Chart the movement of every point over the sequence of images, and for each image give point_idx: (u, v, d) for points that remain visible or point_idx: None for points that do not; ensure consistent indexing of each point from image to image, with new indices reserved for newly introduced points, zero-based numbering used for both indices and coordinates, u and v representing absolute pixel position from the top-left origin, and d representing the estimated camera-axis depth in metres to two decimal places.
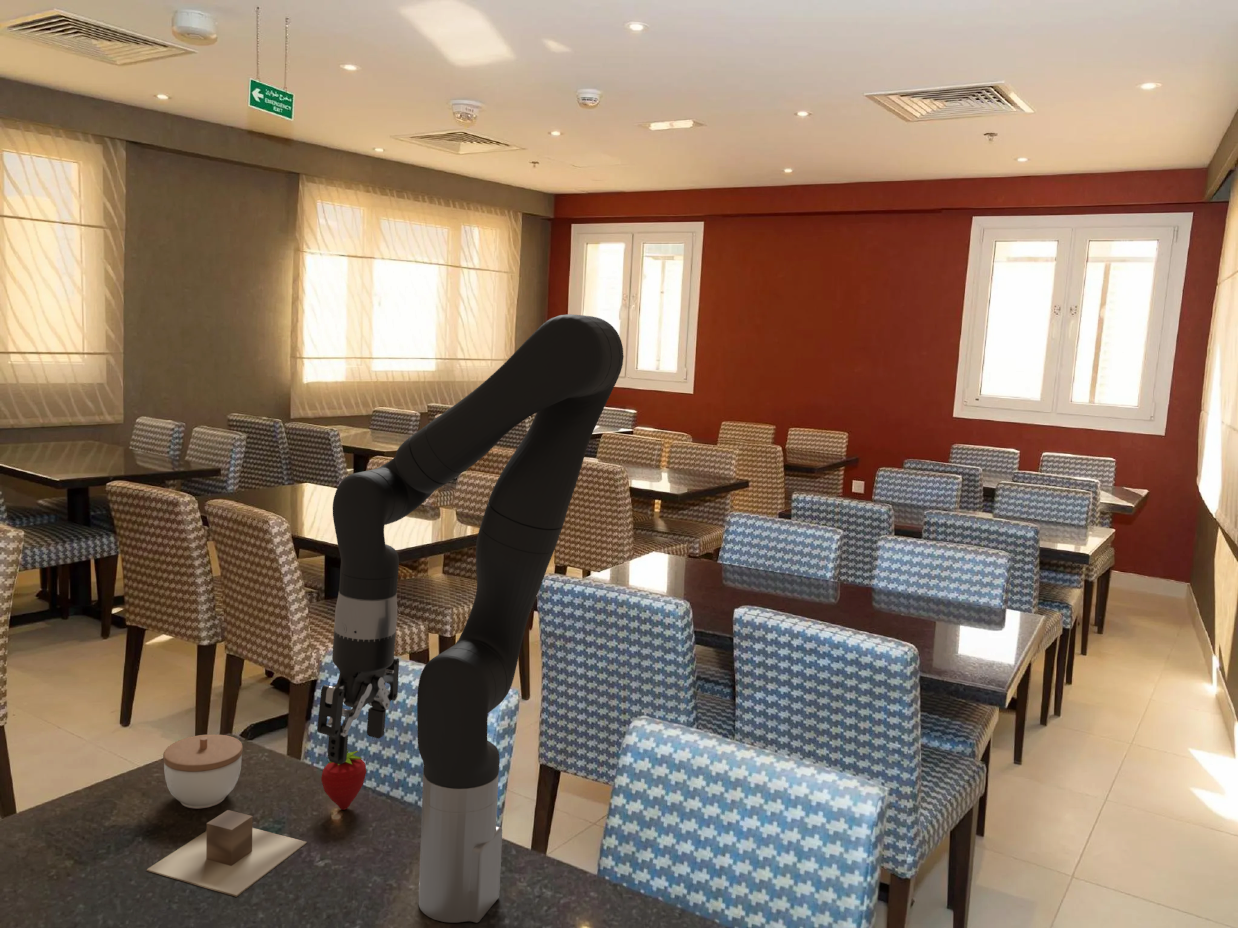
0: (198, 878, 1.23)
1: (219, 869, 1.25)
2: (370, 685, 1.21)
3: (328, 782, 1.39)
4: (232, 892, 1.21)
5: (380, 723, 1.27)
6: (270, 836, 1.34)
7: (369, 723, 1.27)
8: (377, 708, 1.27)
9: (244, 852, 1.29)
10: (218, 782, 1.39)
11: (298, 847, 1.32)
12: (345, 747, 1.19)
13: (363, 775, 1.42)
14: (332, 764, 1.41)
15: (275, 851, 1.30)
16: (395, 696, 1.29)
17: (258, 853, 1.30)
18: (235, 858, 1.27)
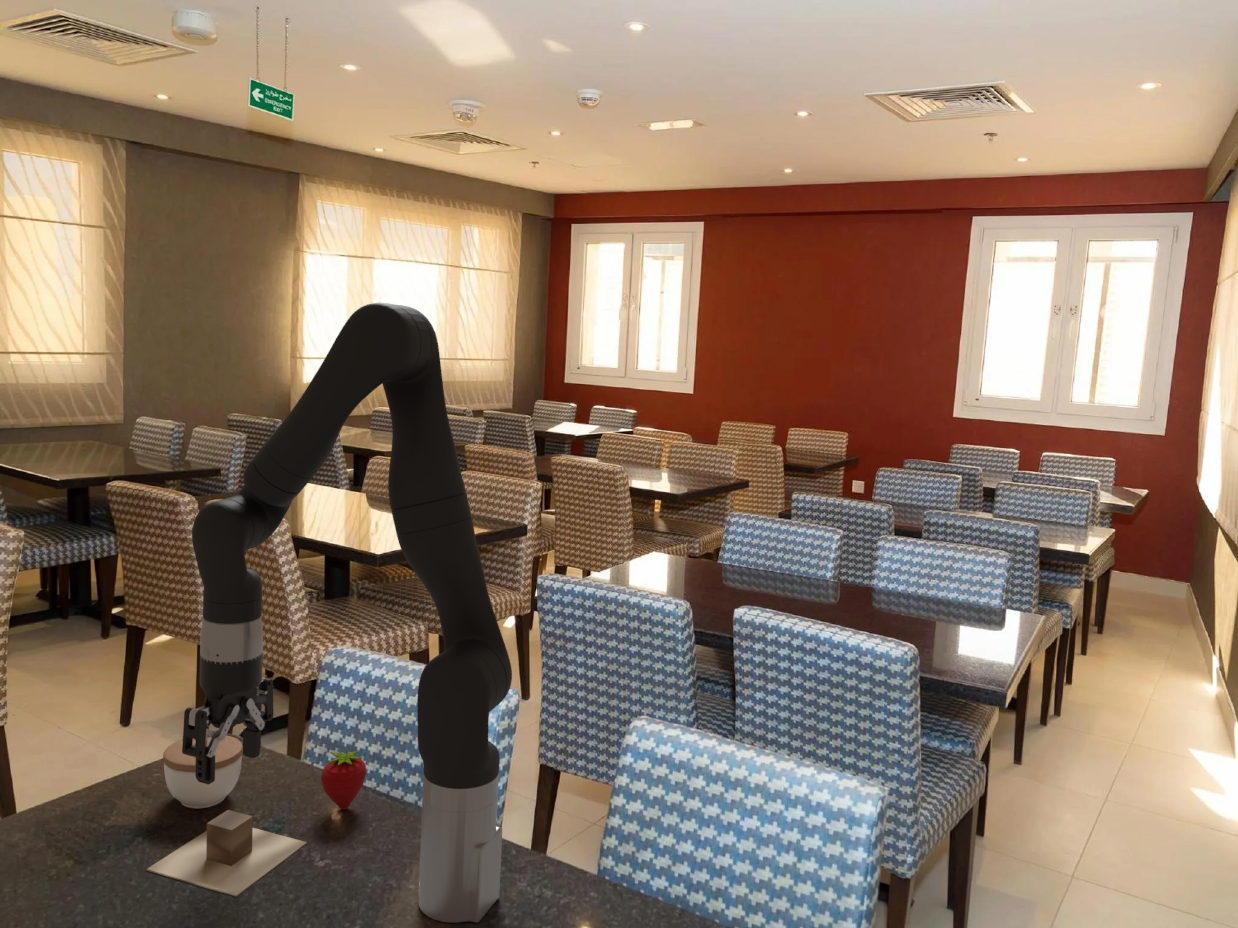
0: (197, 878, 1.23)
1: (219, 869, 1.25)
2: (237, 706, 1.25)
3: (328, 782, 1.39)
4: (232, 892, 1.21)
5: (255, 743, 1.31)
6: (270, 836, 1.34)
7: (244, 744, 1.31)
8: (251, 729, 1.31)
9: (244, 852, 1.29)
10: (218, 781, 1.39)
11: (298, 847, 1.32)
12: (212, 767, 1.23)
13: (363, 775, 1.42)
14: (332, 764, 1.41)
15: (275, 851, 1.30)
16: (270, 716, 1.32)
17: (258, 853, 1.30)
18: (235, 858, 1.27)
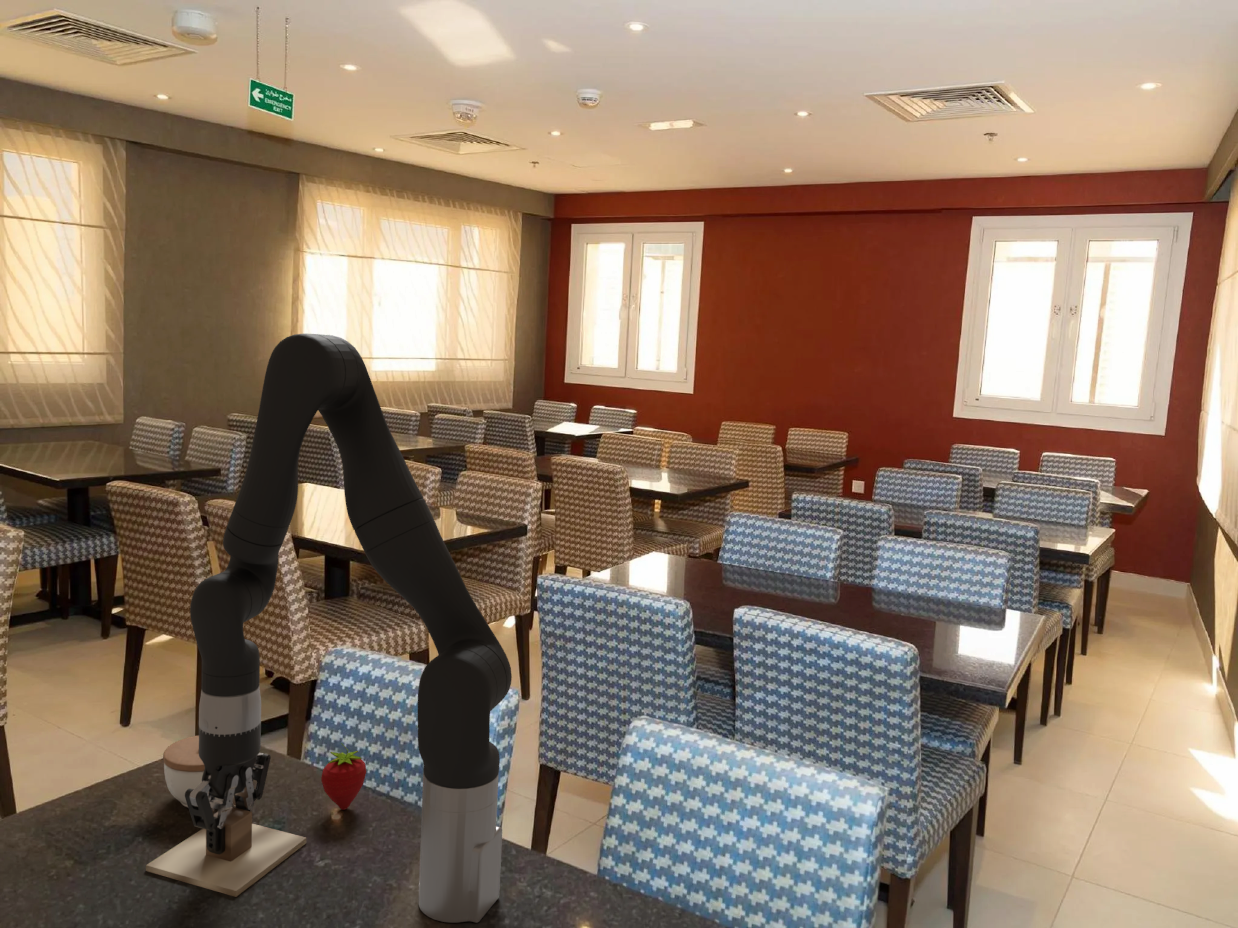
0: (197, 874, 1.23)
1: (219, 865, 1.25)
2: (235, 776, 1.26)
3: (328, 782, 1.39)
4: (232, 888, 1.21)
5: None
6: (270, 832, 1.34)
7: None
8: None
9: (244, 848, 1.29)
10: None
11: (298, 843, 1.32)
12: (223, 838, 1.26)
13: (363, 775, 1.42)
14: (332, 764, 1.41)
15: (275, 847, 1.30)
16: (259, 795, 1.32)
17: (258, 849, 1.30)
18: (235, 854, 1.27)
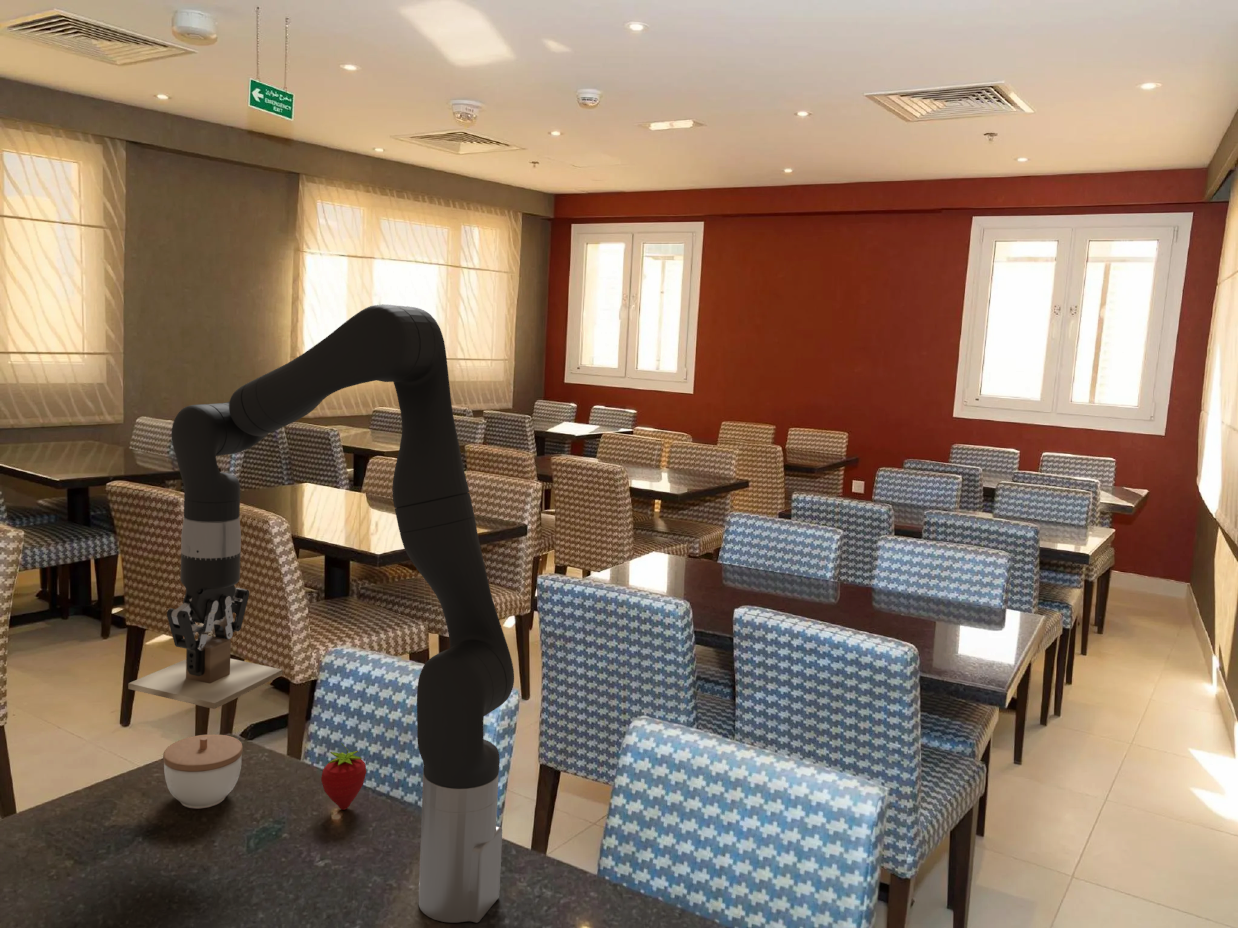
0: (177, 691, 1.29)
1: (198, 685, 1.32)
2: (215, 602, 1.32)
3: (328, 782, 1.39)
4: (210, 701, 1.27)
5: None
6: (247, 664, 1.40)
7: None
8: None
9: (222, 673, 1.35)
10: (218, 782, 1.39)
11: (274, 673, 1.38)
12: (203, 660, 1.32)
13: (363, 775, 1.42)
14: (332, 764, 1.41)
15: (252, 675, 1.37)
16: (238, 627, 1.38)
17: (235, 676, 1.36)
18: (213, 677, 1.33)
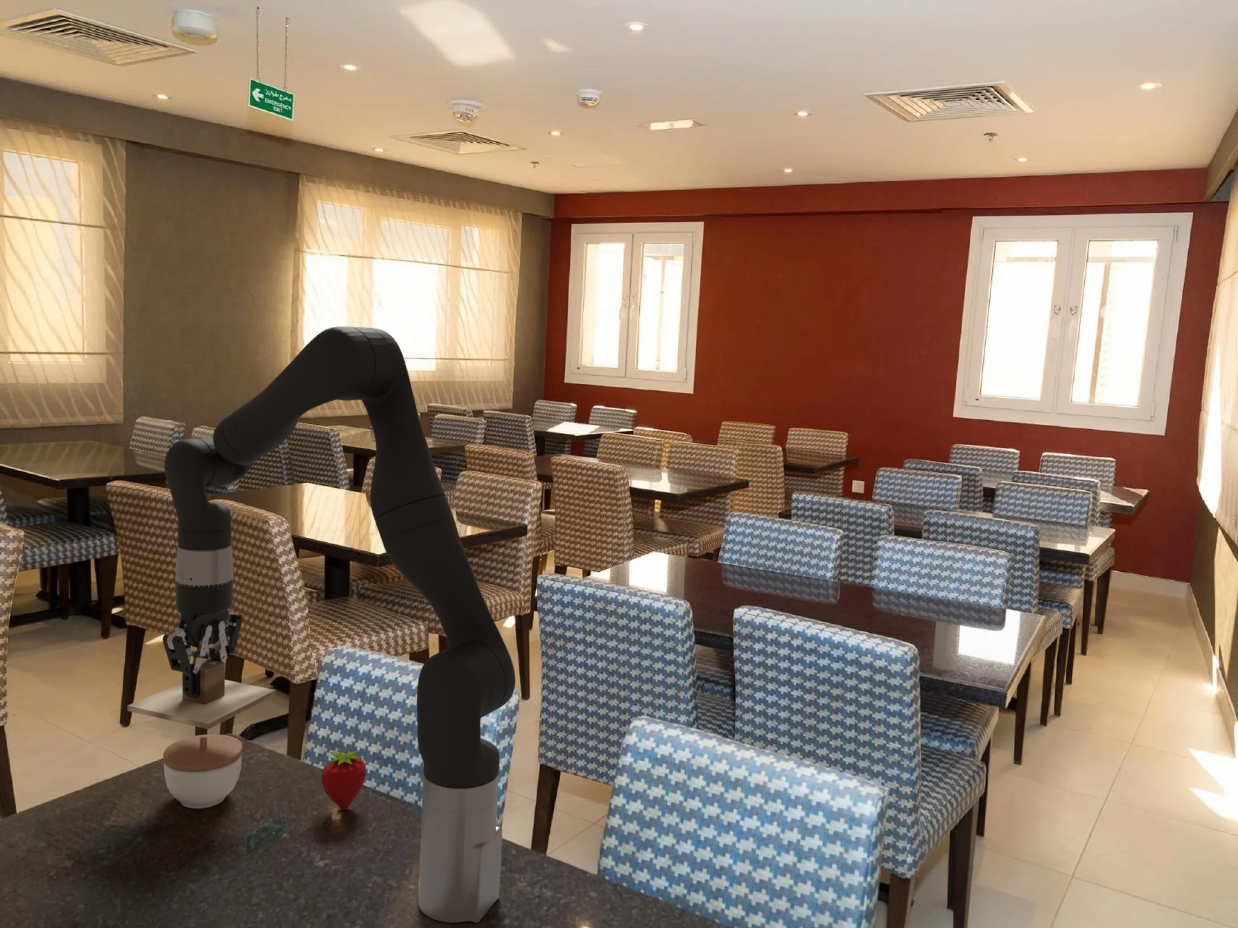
0: (174, 712, 1.36)
1: (193, 706, 1.38)
2: (209, 627, 1.38)
3: (328, 782, 1.39)
4: (204, 721, 1.33)
5: None
6: (242, 686, 1.47)
7: None
8: None
9: (217, 694, 1.41)
10: (218, 782, 1.39)
11: (267, 693, 1.44)
12: (198, 683, 1.38)
13: (363, 775, 1.42)
14: (332, 764, 1.41)
15: (245, 696, 1.43)
16: (232, 650, 1.44)
17: (230, 696, 1.42)
18: (208, 698, 1.40)
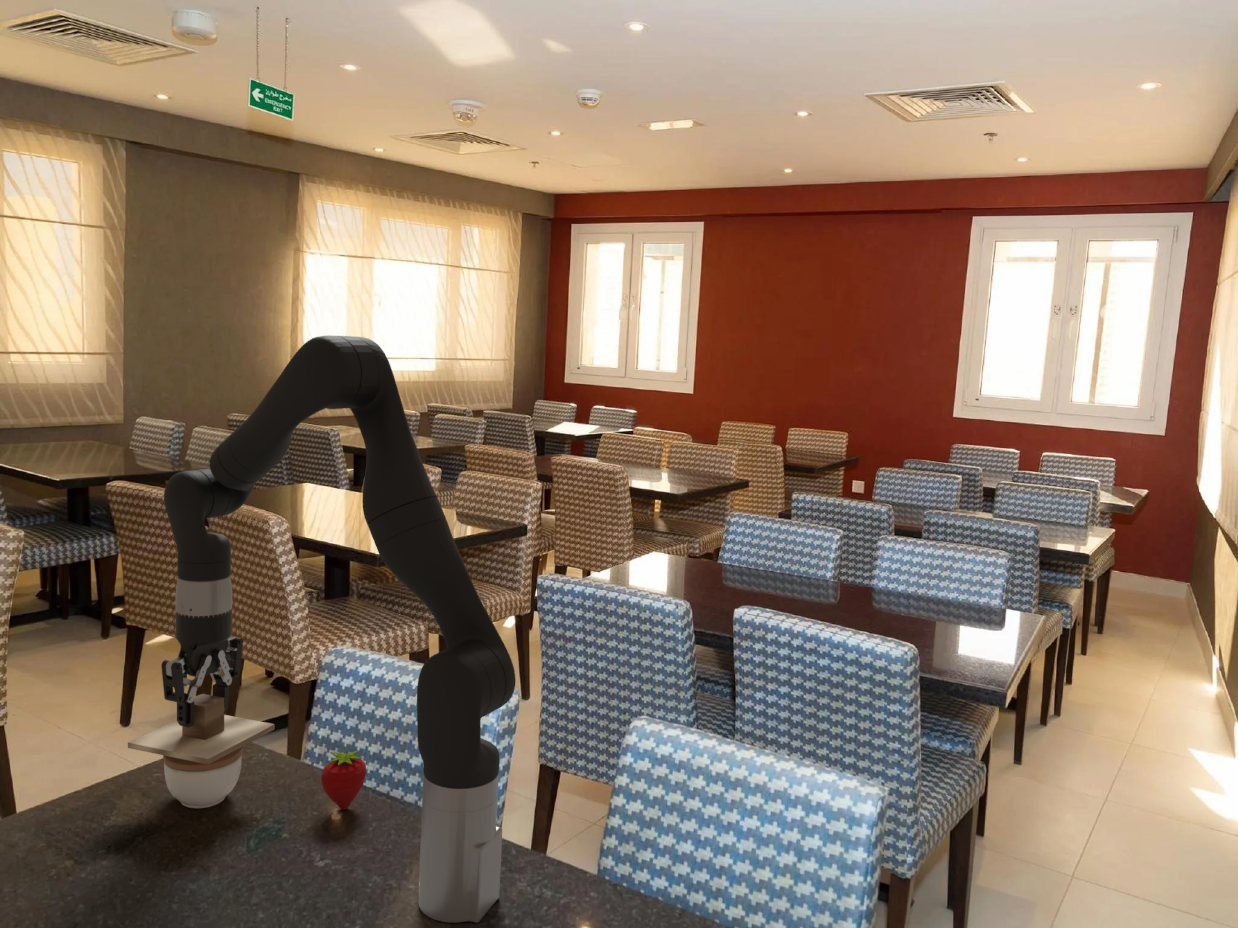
0: (174, 748, 1.36)
1: (193, 742, 1.39)
2: (209, 656, 1.39)
3: (328, 782, 1.39)
4: (204, 757, 1.34)
5: (223, 697, 1.44)
6: (241, 720, 1.47)
7: None
8: (219, 684, 1.44)
9: (217, 730, 1.42)
10: (218, 781, 1.39)
11: (266, 727, 1.45)
12: (192, 712, 1.38)
13: (363, 775, 1.42)
14: (332, 764, 1.41)
15: (245, 730, 1.44)
16: (237, 673, 1.46)
17: (229, 731, 1.43)
18: (208, 733, 1.40)
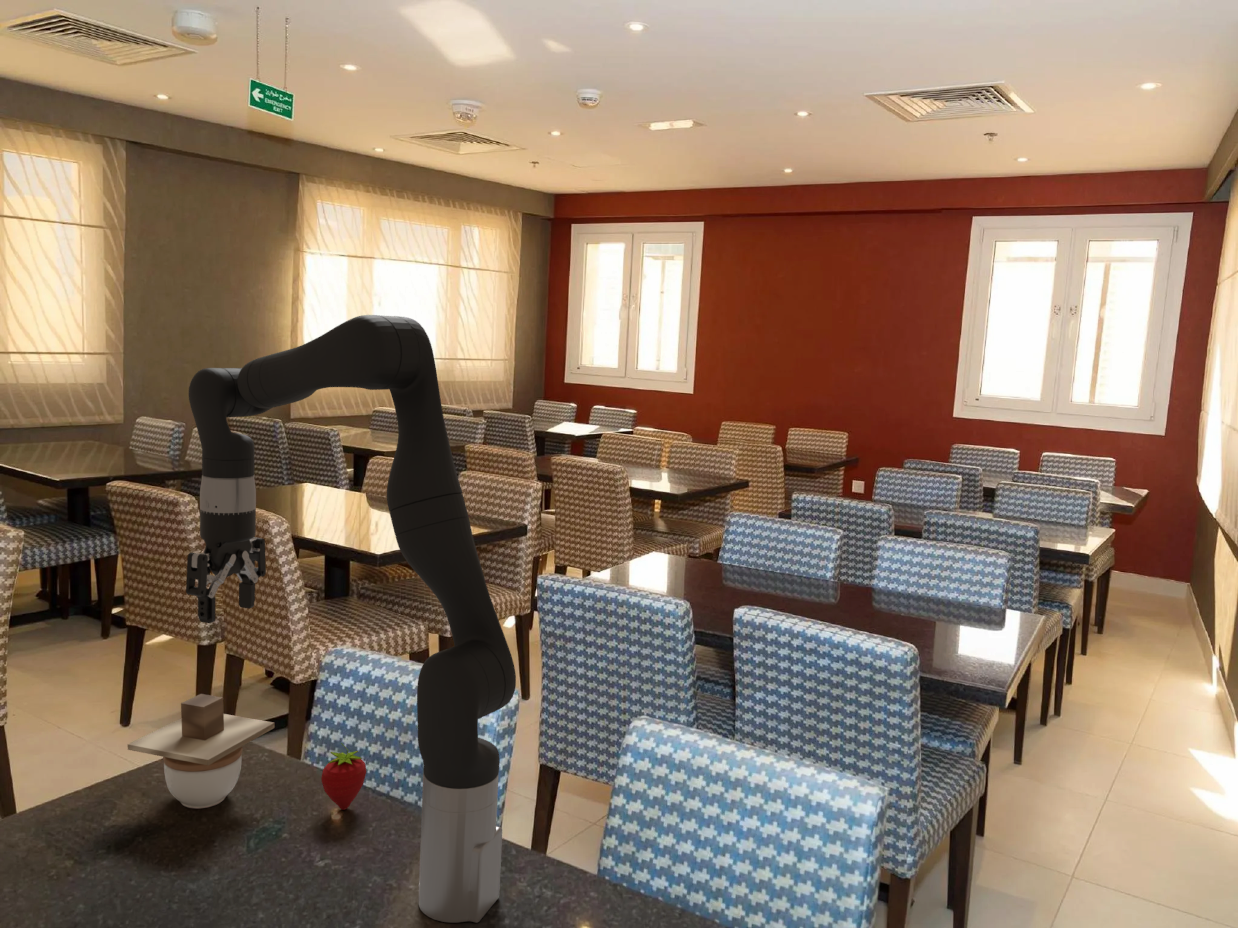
0: (173, 749, 1.36)
1: (193, 743, 1.39)
2: (234, 555, 1.40)
3: (328, 782, 1.39)
4: (204, 758, 1.34)
5: (249, 595, 1.46)
6: (241, 719, 1.47)
7: (240, 596, 1.47)
8: (246, 582, 1.46)
9: (216, 730, 1.42)
10: (218, 781, 1.39)
11: (266, 726, 1.45)
12: (213, 608, 1.38)
13: (363, 775, 1.42)
14: (332, 764, 1.41)
15: (245, 729, 1.44)
16: (263, 572, 1.48)
17: (229, 731, 1.43)
18: (208, 734, 1.40)
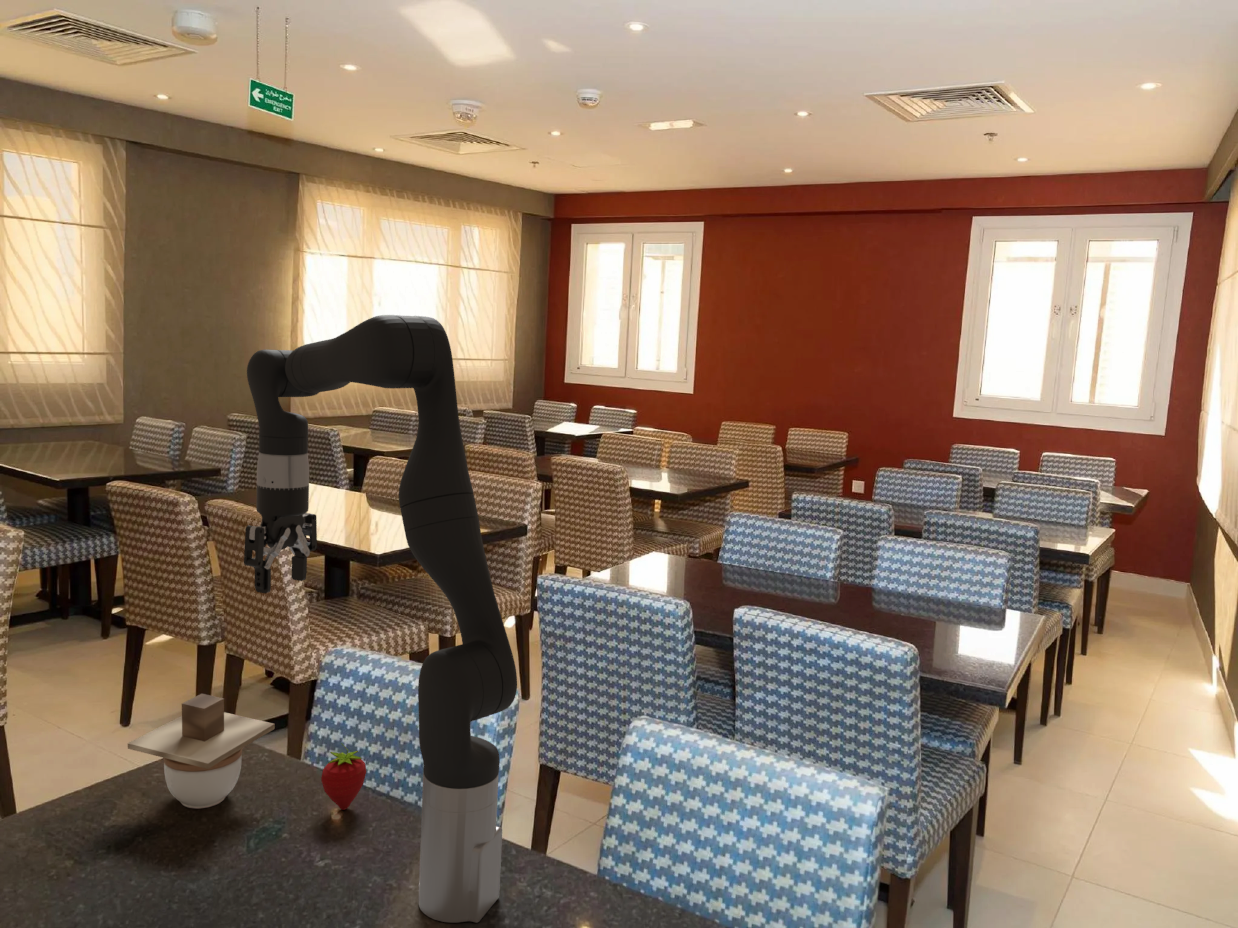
0: (173, 750, 1.36)
1: (193, 744, 1.39)
2: (288, 529, 1.47)
3: (328, 782, 1.39)
4: (204, 761, 1.34)
5: (302, 568, 1.53)
6: (241, 719, 1.47)
7: (293, 569, 1.53)
8: (298, 556, 1.53)
9: (216, 730, 1.42)
10: (218, 781, 1.39)
11: (266, 728, 1.45)
12: (269, 579, 1.45)
13: (363, 775, 1.42)
14: (332, 764, 1.41)
15: (245, 731, 1.44)
16: (314, 547, 1.55)
17: (229, 732, 1.43)
18: (208, 735, 1.40)
